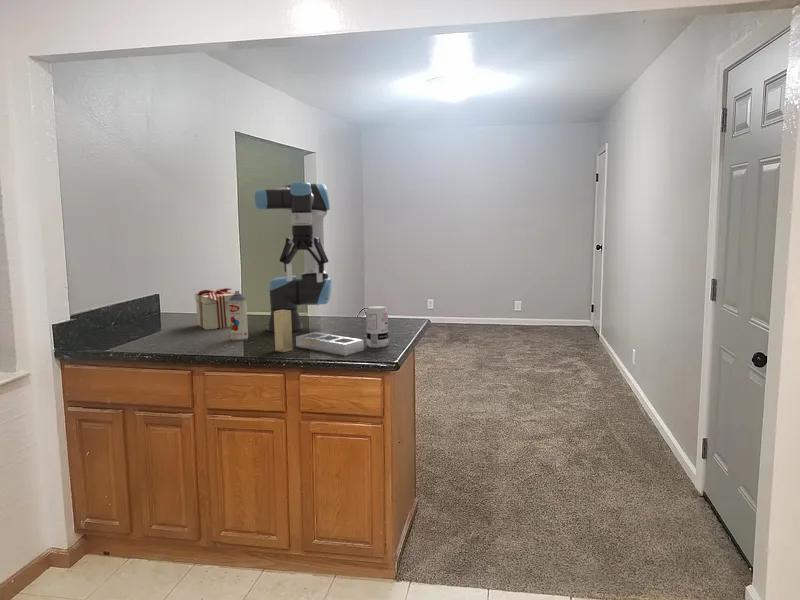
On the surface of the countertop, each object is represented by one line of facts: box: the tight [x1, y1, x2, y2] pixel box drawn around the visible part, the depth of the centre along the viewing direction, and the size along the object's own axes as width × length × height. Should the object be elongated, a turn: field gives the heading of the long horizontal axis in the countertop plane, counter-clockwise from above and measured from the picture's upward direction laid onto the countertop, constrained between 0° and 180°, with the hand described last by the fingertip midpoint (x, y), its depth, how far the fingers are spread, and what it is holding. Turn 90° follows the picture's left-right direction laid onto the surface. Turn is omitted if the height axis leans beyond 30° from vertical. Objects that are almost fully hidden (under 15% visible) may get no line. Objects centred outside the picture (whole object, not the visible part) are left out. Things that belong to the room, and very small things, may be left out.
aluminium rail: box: [295, 331, 365, 356], centre depth 238 cm, size 26×10×4 cm, turn 51°
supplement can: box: [365, 305, 389, 349], centre depth 240 cm, size 8×8×15 cm
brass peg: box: [274, 310, 294, 353], centre depth 235 cm, size 4×4×15 cm
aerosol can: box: [229, 290, 249, 342], centre depth 257 cm, size 7×7×20 cm
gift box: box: [194, 287, 235, 331], centre depth 287 cm, size 17×18×17 cm
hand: (304, 281), depth 237 cm, fingers open, 13 cm apart
